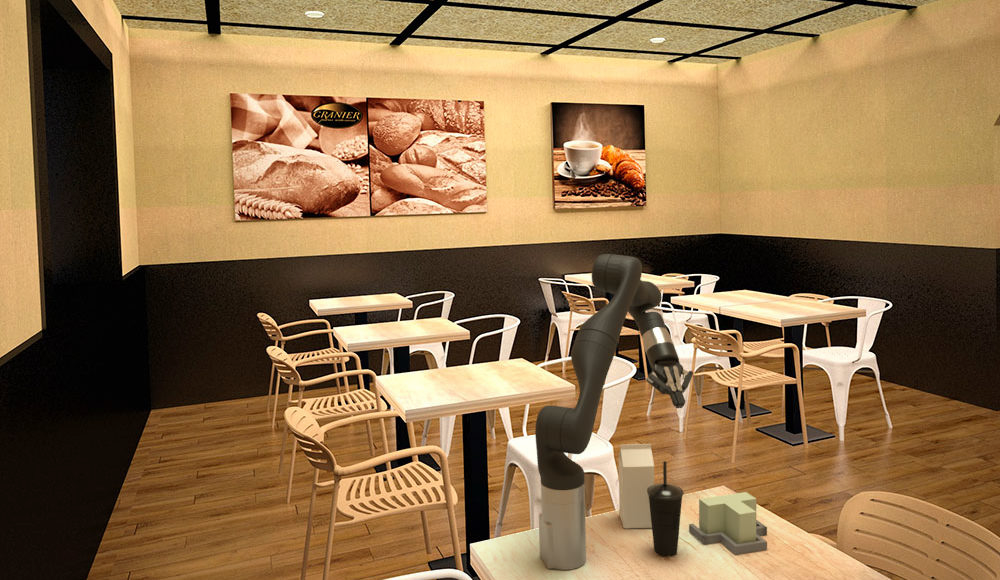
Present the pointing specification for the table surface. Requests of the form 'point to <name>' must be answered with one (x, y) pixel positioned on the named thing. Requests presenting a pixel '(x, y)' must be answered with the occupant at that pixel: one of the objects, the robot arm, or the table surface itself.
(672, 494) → the drinking cup
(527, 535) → the table surface
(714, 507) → the t block
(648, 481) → the milk carton
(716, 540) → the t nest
